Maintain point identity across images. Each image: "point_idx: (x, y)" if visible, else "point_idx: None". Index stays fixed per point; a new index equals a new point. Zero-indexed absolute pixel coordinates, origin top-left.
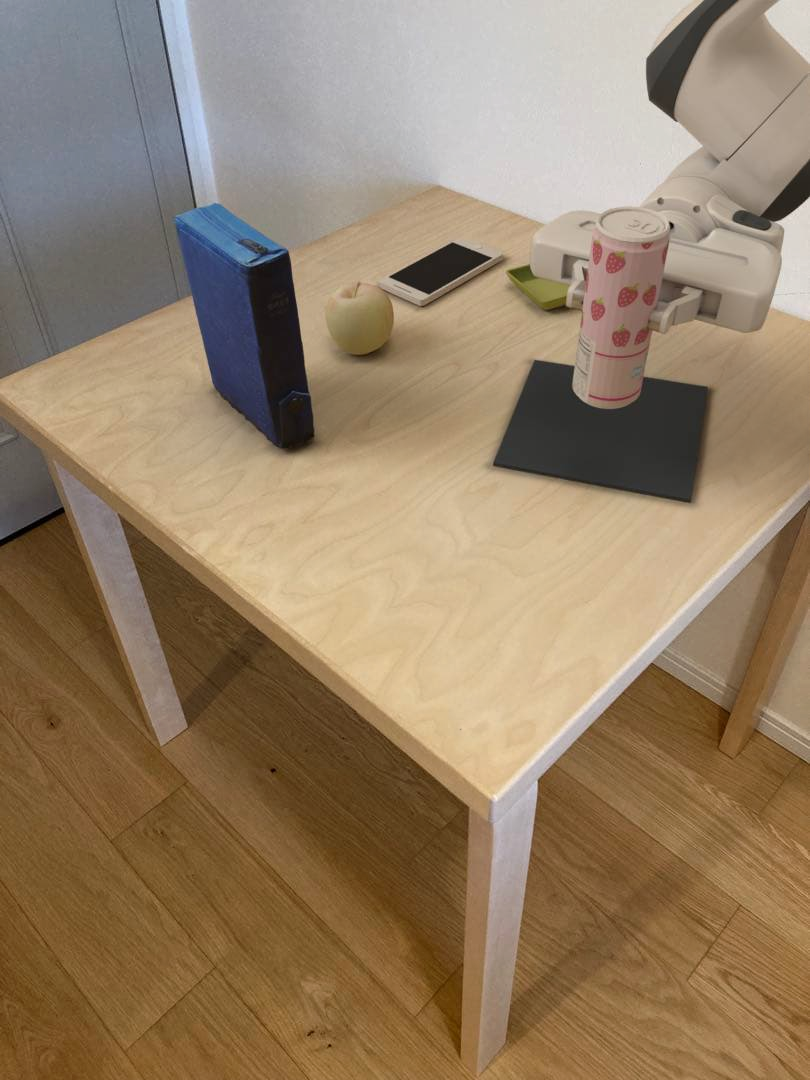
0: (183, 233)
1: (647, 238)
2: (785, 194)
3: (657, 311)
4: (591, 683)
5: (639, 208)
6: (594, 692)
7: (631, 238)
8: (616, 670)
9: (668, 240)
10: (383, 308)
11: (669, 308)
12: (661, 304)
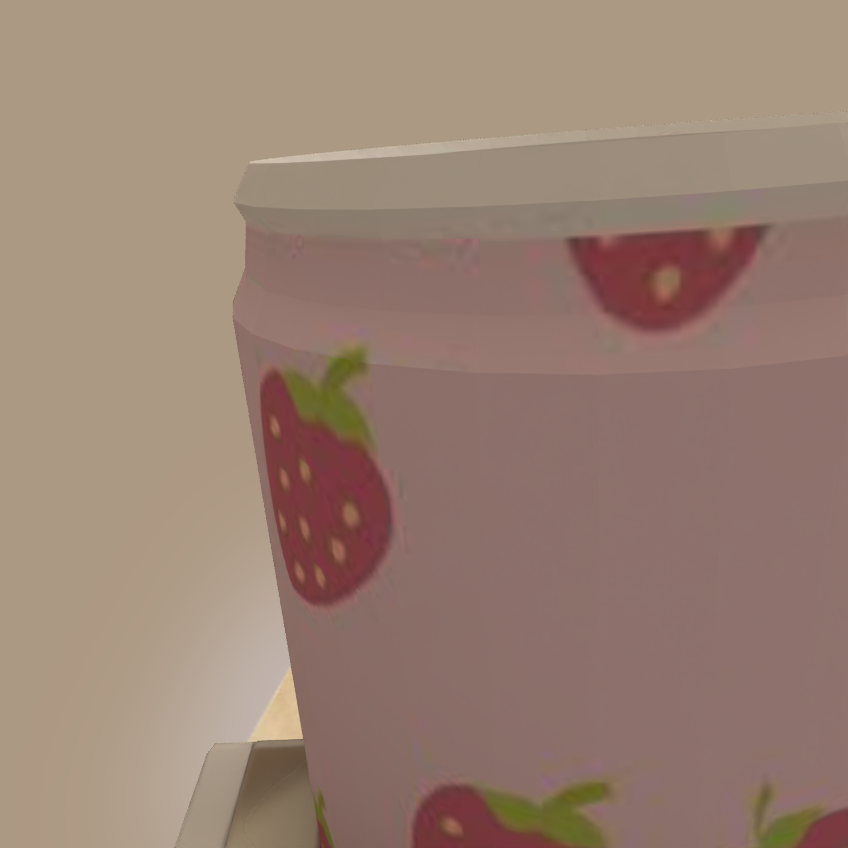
0: None
1: (367, 154)
2: None
3: (294, 748)
4: (286, 700)
5: (804, 140)
6: (278, 691)
7: (461, 143)
8: (253, 734)
9: (238, 289)
10: None
11: (217, 798)
12: (285, 823)
